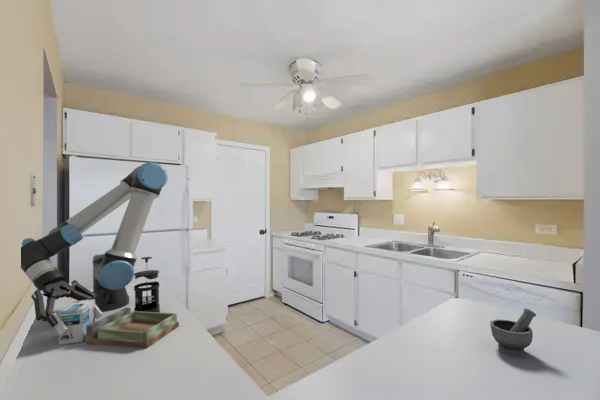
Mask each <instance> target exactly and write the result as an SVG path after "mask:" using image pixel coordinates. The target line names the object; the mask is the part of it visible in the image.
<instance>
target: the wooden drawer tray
mask: <svg viewBox="0 0 600 400" xmlns="http://www.w3.org/2000/svg"><path fill="white" fill-rule="evenodd" d="M177 318H178V313H174V312H161V311H160V312H143V311H136V312H134V311H132V312H131V307H125V308H123V309H120V310H119V311H115V312H113V313H111V314H109V315H107V316H105V317H102V318H99V319H97V320H95V322H93V323H91V324H89V325H87V326H86V334H87V338H86V344H94V345H95V344H96V345H106V346H117V347H118V346H119V347H127V348H128V347H129V348H142V349H148V348H149V347H151V346H152V345H154V344H155V343H157V342H158V341H160V340H161V339H162V338H164V337H166V336H167V335H168V334H170V333H171V332H173V331H174V330H176V328H178V327H180V322H179V321H178V320H177Z"/></svg>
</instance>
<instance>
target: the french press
mask: <svg viewBox="0 0 600 400" xmlns="http://www.w3.org/2000/svg"><path fill="white" fill-rule="evenodd" d="M151 259H153V257H152V256H145V257H144V256H143V257H141V258H140V260H144V261H145V267H146V268H145V270H141V271H136V272H134V276H133V277H134V278H135V279H134V280H137V279H138V278H142V277H144V278H145V279H146V282H141V283H138V284H135V285H134V286H133V291H134V306H135V307H134V309H133V312H136V311H143V312H160V313H161V309H160V307H161V305H160V294H159V293H160V291H159V290H160V282H159V281H157V280H156V281H148V280H155V279H157V278H158V277H159V274H160V271H159V270H157V269H153V270H152V269H149V270H148V263H149V260H151ZM148 291H150V295H148ZM143 292H146V295H144V296H143Z"/></svg>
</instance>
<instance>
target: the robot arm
mask: <svg viewBox="0 0 600 400" xmlns="http://www.w3.org/2000/svg"><path fill="white" fill-rule="evenodd" d="M168 179H169V175H168V171H167V170H166V168H165V167H164V166H163V165H161V164H159V163H157V162H152V161H151V162H145V163H143V164H141V165H140V166H136V168H134V169H133V170H132V171H131V172H130V173H129V174H128V175H126V176H125V177H124V178H123V179H121V180H120V181H119V182H120V183H119V184H118V185H116V186H115V187H114V188H112V189H111V190H110V191H108V192H106V193H105V194H103V195H102V196H101V197H99V198H97V199H96V200H94V201H93V202H92V203H90V204H89V205H88V206H86V207H85V208H84V207H83V209H81V210H80V211H79V212H76V214H74V215H72V216H71V217H70V218H68V219H67V220H66V221H64V222H63V223H61V224H60V225H58V226H56V227H54V228H52V229H51V230H50V231H49V233H47V234H46V235H45V236H42V237H41V238H39V239H37V240H36V239H34V238H32V237H31V238H30V237H29V238H24V239H22V240H23V242H22V247H21V267H20V269H21V270H22V271H23V272H24V274H25V276H27V278H28V279H29V280H30V282H32V283H33V285H34V287H35V288H36V290H35V291H34V292H33V293H32V295H30V297H31V298H32V300H33V303H34V304H33V305H34V311H35V312H34V313H35V320H36V321H38V322H39V321H41V320H42V321H43V322H47V323H48V324H49V325H50V327H52V328H53V327H54V329H55V330H56V331H57V333H58V335H59V334H60V335H62V334H64V333H65V331H66V330H67V329H68V328H67V326H66V325H65V324H64V323H63V321H62V320H61V319H60V317H59V314H57V313H58V312H57V313H56V312H55V313H53V312H54V307H55V302H56V300H59V299H60V298H61V299H62V298H67V299H69V298H70V299H73V300H75V301H82V300H93V299H95V320H100V318H101V317H102V315H103V314H104V313H103V312H105V311H106V312H107V311H111V310H117V309H120V308H122V307H125V306H127V305H128V304H129V303H130V296H129V295H128V292H127V289H126V287H127V286H128V285H129V284H130V283H131V282H132V281H133V278H134V277H135V276H134V274H135V268H134V267H135V265H136V262H137V259H138V257H137V255H136V254H135V253H136V250H137V247H138V244H139V242H140V240H141V236H142V233H143V230H144V227H145V224H146V222H147V220H148V219H147V218H148V217H149V214H150V212H151V208H152V205H153V202H154V200H155V199H157V198H159V197H160V194H161V191H162V189H163V187H164V186H165V185H166V184H167V183H168V181H169V180H168ZM127 201H129V202H128V203H127V206H126V209H125V212H124V215H123V217H122V219H121V222H120V225H119V228H118V229H117V233H116V235H115V238H114V241H113V243H112V246H111V248H110V249H108V250H106V251H105V252H104V253H102V254H95V255H94V256H93V257H92V291H91V290H90V289H88V288H86V287H84V285H82V284H81V283H79V282H78V281H77V280H76V279H73V280H72V281H71V282H67V281H66V279H65V276H64V275H63V273H62V272H61V270H59V269H58V267H57V266H56V265H55V264H54V262H53V261H52V259H50V258H53V257H54V256H56V255H57V254H59V253H61V252H63V251H65V250H67V249H69V248H71V247H72V246H74V245H76V244H78V243H79V242H80V241H82V240H83V239H84V236H83V233H84V232H86V231H87V230H89V229H90V228H92V227H93V226H94V225H96V224H97V223H99V221H101V220H103V219H104V218H105V217H107V216H108V215H110V214H112V212H113V211H115V210H117V209H118V208H119V207H121V206H122V205H123V204H125V203H126V202H127ZM44 297H46V305H45V301H44Z"/></svg>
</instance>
